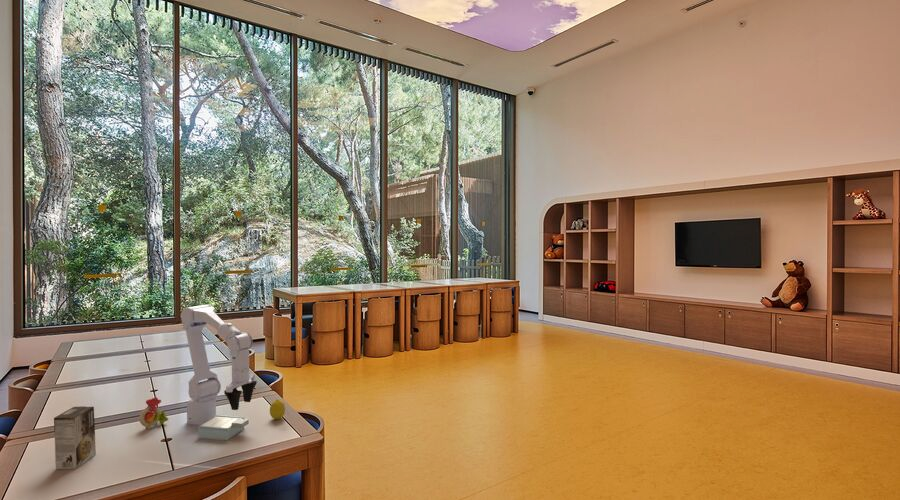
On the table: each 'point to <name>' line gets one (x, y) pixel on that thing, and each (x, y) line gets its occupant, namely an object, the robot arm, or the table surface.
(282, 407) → the lemon
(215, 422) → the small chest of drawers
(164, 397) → the table surface
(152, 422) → the bird rattle
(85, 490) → the table surface
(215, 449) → the table surface
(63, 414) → the coffee box
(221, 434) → the tub
